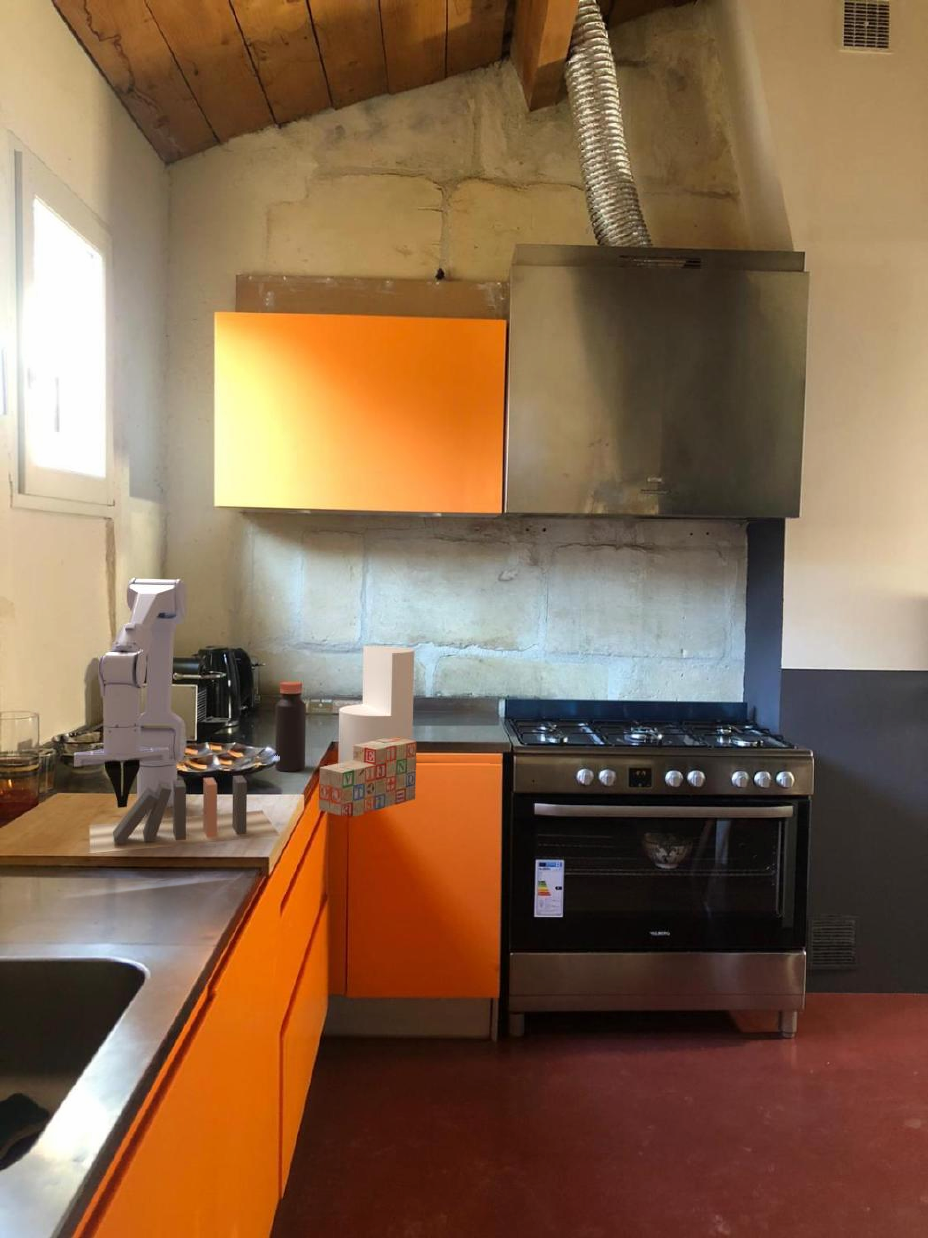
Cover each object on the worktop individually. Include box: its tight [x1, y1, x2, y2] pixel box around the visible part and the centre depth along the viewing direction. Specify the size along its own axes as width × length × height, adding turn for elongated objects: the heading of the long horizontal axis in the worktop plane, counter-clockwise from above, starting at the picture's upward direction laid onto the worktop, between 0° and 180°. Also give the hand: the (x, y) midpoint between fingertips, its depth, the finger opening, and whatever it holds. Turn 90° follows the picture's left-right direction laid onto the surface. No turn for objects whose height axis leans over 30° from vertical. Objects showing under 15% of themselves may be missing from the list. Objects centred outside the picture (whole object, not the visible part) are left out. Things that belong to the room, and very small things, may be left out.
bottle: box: [274, 681, 307, 773], centre depth 204 cm, size 7×7×20 cm
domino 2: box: [143, 781, 172, 842], centre depth 148 cm, size 2×5×9 cm, turn 24°
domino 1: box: [113, 787, 158, 845], centre depth 147 cm, size 2×5×9 cm
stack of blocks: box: [318, 738, 417, 819], centre depth 174 cm, size 21×6×12 cm, turn 142°
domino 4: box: [202, 777, 218, 837], centre depth 151 cm, size 2×5×9 cm, turn 24°
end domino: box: [232, 775, 248, 835], centre depth 153 cm, size 2×5×9 cm, turn 23°
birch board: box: [89, 809, 280, 855], centre depth 153 cm, size 16×30×1 cm, turn 113°
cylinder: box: [337, 645, 415, 764], centre depth 206 cm, size 17×17×28 cm
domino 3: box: [172, 779, 187, 840], centre depth 150 cm, size 2×5×9 cm, turn 24°
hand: (122, 806), depth 146 cm, fingers closed
